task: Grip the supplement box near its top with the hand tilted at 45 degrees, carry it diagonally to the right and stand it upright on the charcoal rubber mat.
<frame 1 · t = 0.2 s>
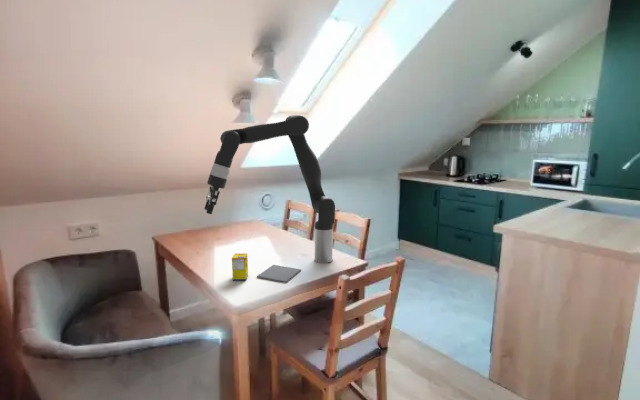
hand: (207, 211, 158), 31 cm above the table, tool tilted 20°, fingers open, 8 cm apart
supplement box: (240, 278, 167), on the table
charcoal mat: (279, 274, 172), on the table
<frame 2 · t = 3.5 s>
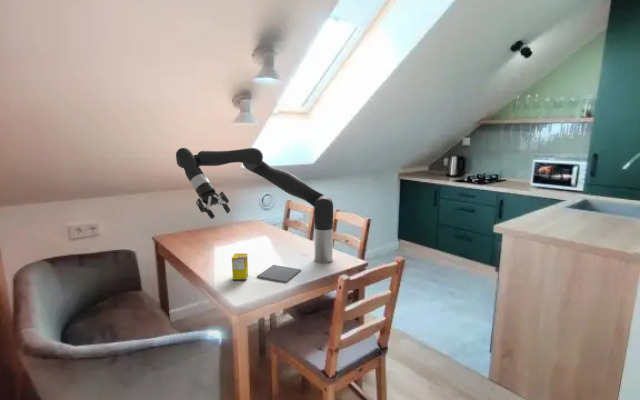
hand: (221, 214, 164), 29 cm above the table, tool tilted 40°, fingers open, 8 cm apart
nothing on the table moved.
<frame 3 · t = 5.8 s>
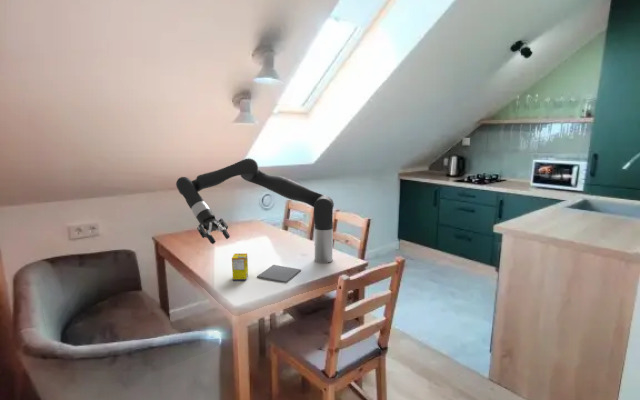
hand: (221, 240, 169), 16 cm above the table, tool tilted 45°, fingers open, 8 cm apart
nothing on the table moved.
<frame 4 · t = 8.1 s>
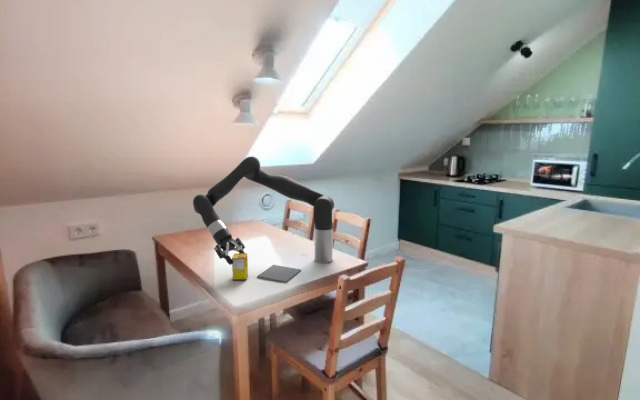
hand: (238, 261, 166), 8 cm above the table, tool tilted 45°, fingers closed on supplement box, 8 cm apart
supplement box: (240, 278, 167), on the table, touching gripper
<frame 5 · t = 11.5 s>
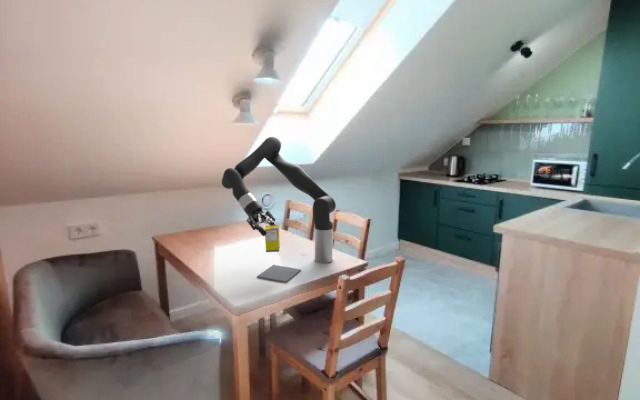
hand: (270, 232, 166), 21 cm above the table, tool tilted 45°, fingers closed on supplement box, 7 cm apart
supplement box: (272, 250, 168), point 12 cm above the table, touching gripper
when the fingers open (10 cm above the table, at t = 14.9 s): supplement box drops 1 cm, resting on charcoal mat.
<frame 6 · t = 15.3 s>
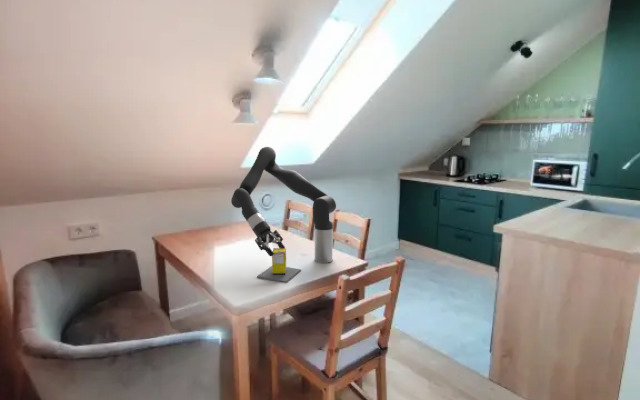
hand: (278, 252, 170), 10 cm above the table, tool tilted 45°, fingers open, 8 cm apart
supplement box: (279, 272, 172), point 1 cm above the table, touching charcoal mat
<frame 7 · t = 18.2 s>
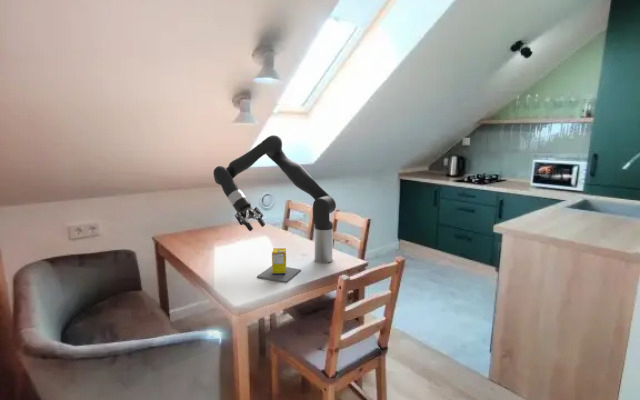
hand: (257, 227, 174), 20 cm above the table, tool tilted 45°, fingers open, 8 cm apart
nothing on the table moved.
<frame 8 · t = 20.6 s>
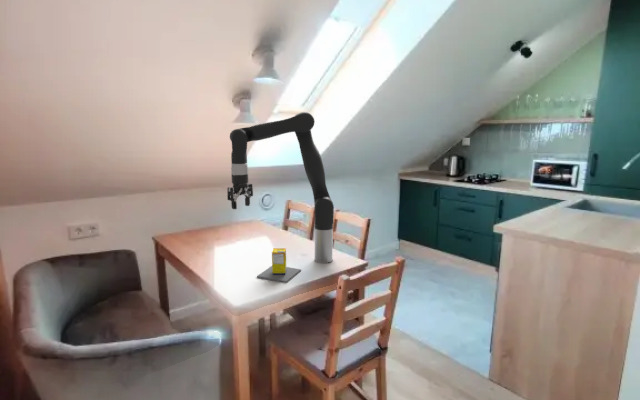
hand: (241, 207, 173), 30 cm above the table, tool pointing down, fingers open, 8 cm apart
nothing on the table moved.
at the end: supplement box inside the target area on the charcoal mat (0.3 cm from its centre), point 0.6 cm above the charcoal mat's base; supplement box tilted 0°; the gripper is holding nothing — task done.
